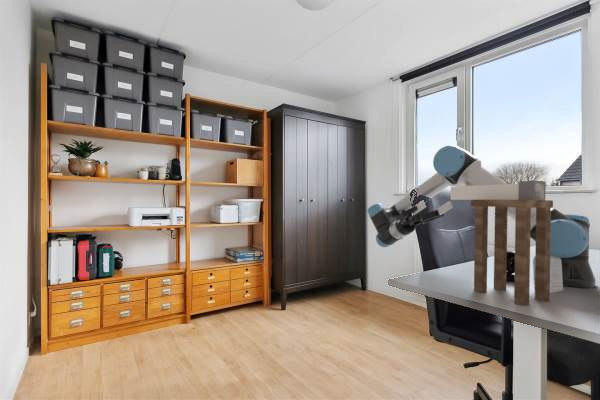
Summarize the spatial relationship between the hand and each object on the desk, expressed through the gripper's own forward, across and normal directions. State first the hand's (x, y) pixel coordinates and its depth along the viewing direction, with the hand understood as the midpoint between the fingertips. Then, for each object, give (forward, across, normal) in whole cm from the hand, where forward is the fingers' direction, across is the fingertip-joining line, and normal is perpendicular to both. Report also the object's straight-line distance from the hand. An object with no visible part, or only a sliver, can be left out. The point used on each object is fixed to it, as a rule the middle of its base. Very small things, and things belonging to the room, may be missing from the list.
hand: (438, 203), depth 115 cm
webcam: (-1, -19, -30) cm, 36 cm away
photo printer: (+10, -18, -37) cm, 42 cm away
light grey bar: (+19, 0, -9) cm, 20 cm away
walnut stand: (+10, 0, -36) cm, 37 cm away
